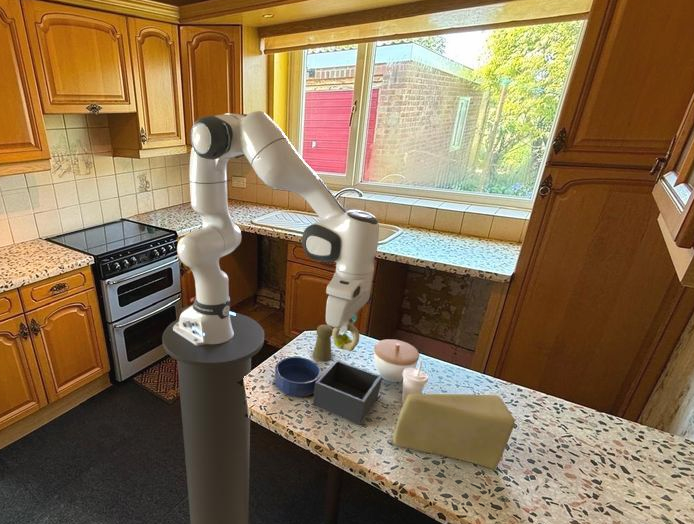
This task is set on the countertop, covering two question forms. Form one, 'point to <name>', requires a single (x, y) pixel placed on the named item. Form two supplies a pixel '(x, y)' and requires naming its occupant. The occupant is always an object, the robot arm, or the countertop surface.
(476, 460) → the cheese
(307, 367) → the toy bowl
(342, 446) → the countertop surface
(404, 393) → the smoothie
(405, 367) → the lidded bowl
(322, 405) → the bin
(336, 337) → the rattle
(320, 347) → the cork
